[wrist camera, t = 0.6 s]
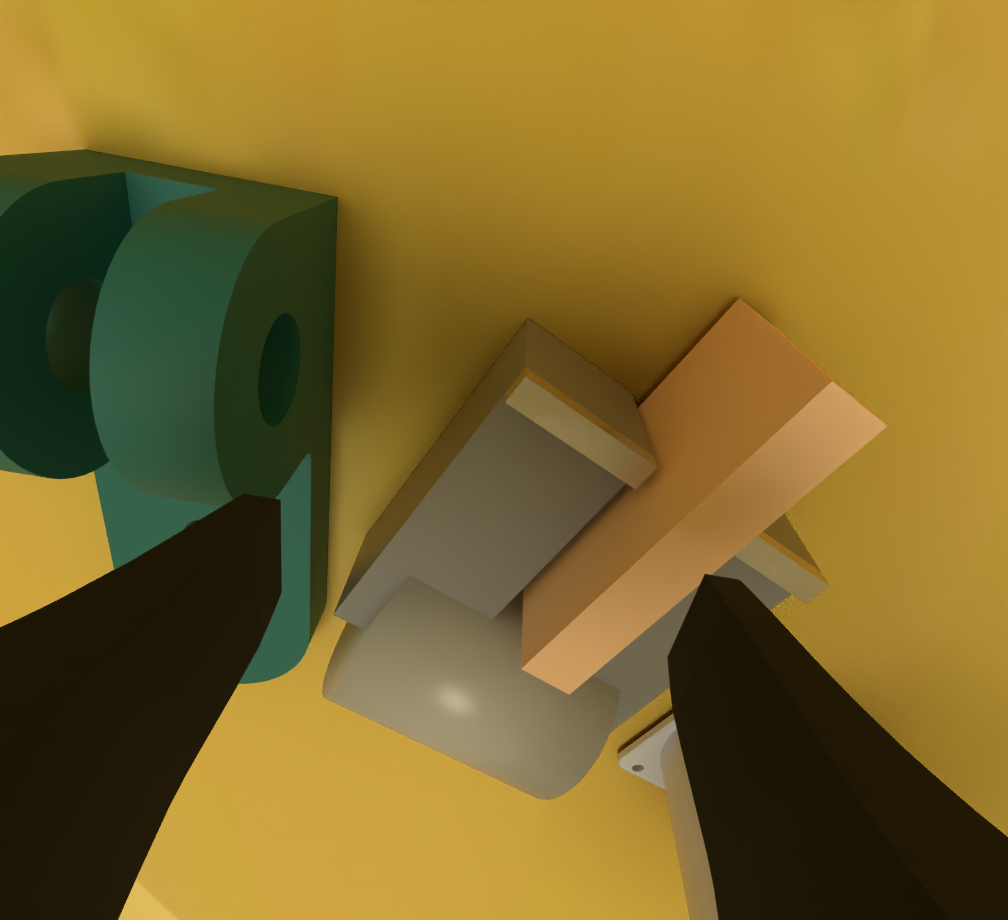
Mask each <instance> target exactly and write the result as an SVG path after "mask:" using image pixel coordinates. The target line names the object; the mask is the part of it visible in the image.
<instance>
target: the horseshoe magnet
mask: <svg viewBox="0 0 1008 920" xmlns="http://www.w3.org/2000/svg"><path fill="white" fill-rule="evenodd" d="M657 468H658V467H657V464H656V462H655V459H654V456H653V453H652V450H651V447H650V444H649V441H648V438H647V435H646V433H645V430H644V427H643V424H642V421H641V418H640V415H639V412H638V409H637V406H636V403H635V401H634V398H633V395H632V392H630V391H629V390H628V389H626V388H625V387H623V386H622V385H621V384H619V383H618V382H616V381H615V380H614V379H612V378H611V377H610V376H608V375H607V374H605V373H604V372H603V371H601V370H600V369H598V368H597V367H596V366H594V365H593V364H591V363H590V362H589V361H587V360H586V359H585V358H583V357H582V356H580V355H579V354H578V353H576V352H575V351H573V350H572V349H571V348H569V347H568V346H567V345H565V344H564V343H562V342H561V341H560V340H558V339H557V338H555V337H554V336H553V335H551V334H550V333H548V332H547V331H546V330H544V329H543V328H542V327H540V326H539V325H537V324H536V323H535V322H533V321H532V320H530V319H529V318H528V319H527V320H526V321H525V323H524V324H523V325H522V327H521V328H520V329H519V331H518V332H517V333H516V335H515V336H514V337H513V339H512V340H511V341H510V343H509V344H508V345H507V347H506V348H505V349H504V351H503V352H502V353H501V355H500V356H499V357H498V359H497V360H496V361H495V363H494V364H493V366H492V367H491V368H490V370H489V371H488V372H487V374H486V375H485V376H484V378H483V379H482V380H481V382H480V383H479V384H478V386H477V387H476V388H475V390H474V391H473V392H472V394H471V395H470V396H469V398H468V399H467V400H466V402H465V403H464V404H463V406H462V407H461V408H460V410H459V411H458V412H457V414H456V415H455V417H454V418H453V419H452V421H451V422H450V423H449V425H448V426H447V427H446V429H445V430H444V431H443V433H442V434H441V435H440V437H439V438H438V439H437V441H436V442H435V443H434V445H433V446H432V447H431V449H430V450H429V451H428V453H427V454H426V455H425V457H424V458H423V459H422V461H421V462H420V463H419V465H418V466H417V468H416V469H415V470H414V472H413V473H412V474H411V476H410V477H409V478H408V480H407V481H406V482H405V484H404V485H403V486H402V488H401V489H400V490H399V492H398V493H397V494H396V496H395V497H394V498H393V500H392V501H391V502H390V504H389V505H388V506H387V508H386V509H385V510H384V512H383V513H382V514H381V516H380V517H379V519H378V520H377V521H376V523H375V524H374V525H373V527H372V528H371V529H370V531H369V532H368V533H367V535H366V536H365V539H364V541H363V543H362V546H361V548H360V551H359V553H358V556H357V558H356V561H355V563H354V565H353V568H352V570H351V573H350V575H349V578H348V580H347V583H346V585H345V587H344V590H343V592H342V595H341V597H340V600H339V602H338V604H337V607H336V609H335V612H334V614H333V615H335V616H337V617H339V618H341V619H343V620H345V621H347V623H346V625H345V627H344V629H343V631H342V634H341V636H340V638H339V640H338V642H337V645H336V647H335V649H334V652H333V654H332V657H331V659H330V662H329V665H328V668H327V671H326V674H325V678H324V682H323V690H322V693H323V697H324V698H325V699H327V700H330V701H332V702H334V703H336V704H338V705H340V706H342V707H344V708H347V709H349V710H351V711H353V712H355V713H357V714H359V715H361V716H364V717H366V718H368V719H370V720H372V721H374V722H376V723H378V724H381V725H383V726H385V727H387V728H389V729H391V730H393V731H395V732H397V733H400V734H402V735H404V736H406V737H408V738H410V739H412V740H414V741H417V742H419V743H421V744H423V745H425V746H427V747H429V748H431V749H434V750H436V751H438V752H440V753H442V754H444V755H446V756H448V757H451V758H453V759H455V760H457V761H459V762H461V763H463V764H465V765H468V766H470V767H472V768H474V769H476V770H478V771H480V772H482V773H485V774H487V775H489V776H491V777H493V778H495V779H497V780H499V781H502V782H504V783H506V784H508V785H510V786H512V787H514V788H516V789H519V790H521V791H523V792H525V793H527V794H529V795H531V796H533V797H536V798H539V799H545V800H548V799H553V798H556V797H559V796H561V795H563V794H565V793H566V792H568V791H569V790H571V789H572V788H573V787H574V786H575V785H577V784H578V783H579V781H580V780H581V779H582V778H583V777H584V776H585V775H586V774H587V772H588V771H589V770H590V768H591V767H592V766H593V764H594V763H595V761H596V759H597V758H598V756H599V755H600V753H601V751H602V749H603V747H604V745H605V743H606V741H607V738H608V736H609V734H610V732H611V731H613V730H614V729H615V728H617V727H618V726H619V725H621V724H622V723H623V722H625V721H626V720H627V719H628V718H630V717H631V716H632V715H634V714H635V713H636V712H638V711H639V710H640V709H642V708H643V707H644V706H645V705H647V704H648V703H649V702H651V701H652V700H653V699H655V698H656V697H657V696H659V695H660V694H661V693H662V692H664V691H665V690H666V689H668V688H669V687H670V682H669V671H668V660H667V657H668V654H669V652H670V650H671V648H672V645H673V643H674V641H675V639H676V637H677V634H678V632H679V630H680V628H681V625H682V623H683V621H684V619H685V617H686V614H687V612H688V610H689V608H690V605H691V603H692V601H693V599H694V597H695V594H696V592H697V590H698V588H699V586H698V587H696V588H695V589H694V590H693V591H692V592H690V593H689V594H688V595H687V596H686V597H685V598H683V599H682V600H681V601H680V602H679V603H677V604H676V605H675V606H674V607H673V608H671V609H670V610H669V611H668V612H667V613H666V614H664V615H663V616H662V617H661V618H660V619H658V620H657V621H656V622H655V623H654V624H653V625H651V626H650V627H649V628H648V629H647V630H645V631H644V632H643V633H642V634H641V635H640V636H638V637H637V638H636V639H635V640H634V641H632V642H631V643H630V644H629V645H628V646H626V647H625V648H624V649H623V650H622V651H621V652H619V653H618V654H617V655H616V656H615V657H613V658H612V659H611V660H610V661H609V662H608V663H606V664H605V665H604V666H603V667H602V668H600V669H599V670H598V671H597V672H596V673H595V674H593V675H592V676H591V677H590V678H589V679H587V680H586V681H585V682H584V683H583V684H581V685H580V686H579V687H578V688H577V689H576V690H574V691H573V692H572V693H571V694H570V695H569V694H567V693H565V692H563V691H561V690H559V689H558V688H556V687H554V686H552V685H550V684H548V683H546V682H544V681H543V680H541V679H539V678H537V677H535V676H533V675H531V674H530V673H528V672H526V671H524V670H522V669H521V652H522V617H523V588H524V587H525V586H526V585H527V584H528V583H529V582H530V581H531V580H532V579H533V578H534V577H535V576H536V575H537V574H538V573H539V572H540V571H541V570H542V569H543V568H544V567H545V566H546V565H547V564H548V563H549V562H550V561H551V560H552V559H553V558H554V557H555V555H556V554H557V553H558V552H559V551H560V550H561V549H562V548H563V547H564V546H565V545H566V544H567V543H568V542H569V541H570V540H571V539H572V538H573V537H574V536H575V535H576V534H577V533H578V532H579V531H580V530H581V529H582V528H583V527H584V526H585V525H586V524H587V523H588V522H589V521H590V520H591V519H592V518H593V517H594V516H595V515H596V514H597V513H598V512H599V511H600V510H601V509H602V508H603V506H604V505H605V504H606V503H607V502H608V501H609V500H610V499H611V498H612V497H613V496H614V495H615V494H616V493H617V492H618V491H619V490H620V489H621V488H622V487H623V486H624V485H625V484H628V485H629V486H631V487H632V488H634V489H635V490H636V489H637V488H638V487H639V486H640V485H641V484H642V483H643V482H644V481H645V480H646V479H647V478H648V477H649V476H650V475H651V474H652V473H653V472H654V471H655V470H656V469H657ZM712 575H715V576H721V577H727V578H733V579H738V580H740V581H742V582H743V583H744V584H745V585H746V586H747V587H748V588H749V589H750V590H751V591H752V592H753V593H754V594H755V595H756V596H757V597H758V599H759V600H760V601H761V602H762V603H763V604H764V605H765V606H766V607H767V608H768V609H769V610H771V609H772V608H774V607H775V606H776V605H778V604H779V603H780V602H781V601H783V600H784V599H785V598H787V597H788V596H789V595H791V594H793V595H794V596H795V597H797V598H798V599H800V600H801V601H803V602H804V603H808V602H809V601H810V600H812V599H813V598H815V597H816V596H817V595H819V594H820V593H821V592H823V591H824V590H825V589H827V588H828V587H829V584H828V583H827V581H826V579H825V578H824V576H823V575H822V573H821V571H820V570H819V568H818V567H817V565H816V563H815V562H814V560H813V559H812V557H811V555H810V554H809V552H808V551H807V549H806V547H805V546H804V544H803V543H802V541H801V539H800V538H799V536H798V535H797V533H796V531H795V530H794V528H793V527H792V525H791V523H790V522H789V520H788V519H787V517H786V515H785V514H783V515H782V516H780V517H779V518H778V519H777V520H776V521H775V522H773V523H772V524H771V525H770V526H769V527H767V528H766V529H765V530H764V531H763V532H762V533H760V534H759V535H758V536H757V537H756V538H754V539H753V540H752V541H751V542H750V543H748V544H747V545H746V546H745V547H744V548H743V549H741V550H740V551H739V552H738V553H737V554H735V555H734V556H733V557H732V558H731V559H730V560H728V561H727V562H726V563H725V564H724V565H722V566H721V567H720V568H719V569H718V570H717V571H715V572H714V573H713V574H712Z"/></svg>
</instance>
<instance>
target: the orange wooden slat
mask: <svg viewBox="0 0 1008 920" xmlns="http://www.w3.org/2000/svg"><path fill="white" fill-rule="evenodd" d="M638 412H639V415H640V418H641V421H642V424H643V427H644V430H645V433H646V435H647V438H648V441H649V444H650V447H651V450H652V453H653V456H654V459H655V462H656V464H657V467H658V468H657V469H656V470H655V471H654V472H653V473H652V474H651V475H650V476H649V477H648V478H647V479H646V480H645V481H644V482H643V483H642V484H641V485H640V486H639V487H638V488H637V489H636V490H635V489H634V488H632V487H631V486H629V485H628V484H625V485H624V486H623V487H622V488H621V489H620V490H619V491H618V492H617V493H616V494H615V495H614V496H613V497H612V498H611V499H610V500H609V501H608V502H607V503H606V504H605V505H604V506H603V508H602V509H601V510H600V511H599V512H598V513H597V514H596V515H595V516H594V517H593V518H592V519H591V520H590V521H589V522H588V523H587V524H586V525H585V526H584V527H583V528H582V529H581V530H580V531H579V532H578V533H577V534H576V535H575V536H574V537H573V538H572V539H571V540H570V541H569V542H568V543H567V544H566V545H565V546H564V547H563V548H562V549H561V550H560V551H559V552H558V553H557V554H556V555H555V557H554V558H553V559H552V560H551V561H550V562H549V563H548V564H547V565H546V566H545V567H544V568H543V569H542V570H541V571H540V572H539V573H538V574H537V575H536V576H535V577H534V578H533V579H532V580H531V581H530V582H529V583H528V584H527V585H526V586H525V587H524V588H523V617H522V652H521V669H522V670H524V671H526V672H528V673H530V674H531V675H533V676H535V677H537V678H539V679H541V680H543V681H544V682H546V683H548V684H550V685H552V686H554V687H556V688H558V689H559V690H561V691H563V692H565V693H567V694H569V695H570V694H571V693H572V692H573V691H574V690H576V689H577V688H578V687H579V686H580V685H581V684H583V683H584V682H585V681H586V680H587V679H589V678H590V677H591V676H592V675H593V674H595V673H596V672H597V671H598V670H599V669H600V668H602V667H603V666H604V665H605V664H606V663H608V662H609V661H610V660H611V659H612V658H613V657H615V656H616V655H617V654H618V653H619V652H621V651H622V650H623V649H624V648H625V647H626V646H628V645H629V644H630V643H631V642H632V641H634V640H635V639H636V638H637V637H638V636H640V635H641V634H642V633H643V632H644V631H645V630H647V629H648V628H649V627H650V626H651V625H653V624H654V623H655V622H656V621H657V620H658V619H660V618H661V617H662V616H663V615H664V614H666V613H667V612H668V611H669V610H670V609H671V608H673V607H674V606H675V605H676V604H677V603H679V602H680V601H681V600H682V599H683V598H685V597H686V596H687V595H688V594H689V593H690V592H692V591H693V590H694V589H695V588H696V587H698V586H699V585H700V583H701V581H702V579H703V576H704V574H710V575H712V574H713V573H714V572H715V571H717V570H718V569H719V568H720V567H721V566H722V565H724V564H725V563H726V562H727V561H728V560H730V559H731V558H732V557H733V556H734V555H735V554H737V553H738V552H739V551H740V550H741V549H743V548H744V547H745V546H746V545H747V544H748V543H750V542H751V541H752V540H753V539H754V538H756V537H757V536H758V535H759V534H760V533H762V532H763V531H764V530H765V529H766V528H767V527H769V526H770V525H771V524H772V523H773V522H775V521H776V520H777V519H778V518H779V517H780V516H782V515H783V514H784V513H785V512H786V511H788V510H789V509H790V508H791V507H792V506H794V505H795V504H796V503H797V502H798V501H799V500H801V499H802V498H803V497H804V496H805V495H807V494H808V493H809V492H810V491H811V490H812V489H814V488H815V487H816V486H817V485H818V484H820V483H821V482H822V481H823V480H824V479H825V478H827V477H828V476H829V475H830V474H831V473H833V472H834V471H835V470H836V469H837V468H839V467H840V466H841V465H842V464H843V463H844V462H846V461H847V460H848V459H849V458H850V457H852V456H853V455H854V454H855V453H856V452H857V451H859V450H860V449H861V448H862V447H863V446H865V445H866V444H867V443H868V442H869V441H871V440H872V439H873V438H874V437H875V436H876V435H878V434H879V433H880V432H881V431H882V430H884V429H885V428H886V427H887V425H886V424H885V423H883V422H882V421H881V420H880V419H879V418H878V417H877V416H875V415H874V414H873V413H872V412H871V411H870V410H869V409H867V408H866V407H865V406H864V405H863V404H862V403H861V402H860V401H858V400H857V399H856V398H855V397H854V396H853V395H852V394H850V393H849V392H848V391H847V390H846V389H845V388H844V387H843V386H841V385H840V384H839V383H838V382H837V381H836V380H835V379H833V378H832V377H831V376H830V375H829V374H828V373H827V372H825V371H824V370H823V369H822V368H821V367H820V366H819V365H818V364H816V363H815V362H814V361H813V360H812V359H811V358H810V357H808V356H807V355H806V354H805V353H804V352H803V351H802V350H800V349H799V348H798V347H797V346H796V345H795V344H794V343H793V342H791V341H790V340H789V339H788V338H787V337H786V336H785V335H783V334H782V333H781V332H780V331H779V330H778V329H776V328H775V327H774V326H773V325H772V324H770V323H769V322H768V321H767V320H765V319H764V318H763V317H762V316H761V315H759V314H758V313H757V312H756V311H755V310H753V309H752V308H751V307H750V306H748V305H747V304H746V303H745V302H744V301H742V300H741V299H740V298H739V299H738V300H737V301H736V302H735V303H734V304H733V305H732V306H731V308H730V309H729V310H728V311H727V312H726V313H725V314H724V315H723V316H722V317H721V318H720V320H719V321H718V322H717V323H716V324H715V325H714V326H713V327H712V328H711V329H710V330H709V331H708V333H707V334H706V335H705V336H704V337H703V338H702V339H701V340H700V341H699V342H698V343H697V345H696V346H695V347H694V348H693V349H692V350H691V351H690V352H689V353H688V354H687V355H686V357H685V358H684V359H683V360H682V361H681V362H680V363H679V364H678V365H677V366H676V367H675V368H674V370H673V371H672V372H671V373H670V374H669V375H668V376H667V377H666V378H665V379H664V380H663V382H662V383H661V384H660V385H659V386H658V387H657V388H656V389H655V390H654V391H653V392H652V394H651V395H650V396H649V397H648V398H647V399H646V400H645V401H644V402H643V403H642V404H641V405H640V407H639V408H638Z"/></svg>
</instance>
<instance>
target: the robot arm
mask: <svg viewBox="0 0 1008 920" xmlns="http://www.w3.org/2000/svg"><path fill="white" fill-rule="evenodd" d="M281 593H282V568H281V500H279V499H273V498H267V497H262V496H256V495H250V494H242V495H240V496H238V497H237V498H235V499H233V500H231V501H230V502H228V503H226V504H225V505H223V506H221V507H220V508H218V509H216V510H215V511H213V512H212V513H210V514H208V515H207V516H205V517H203V518H202V519H200V520H199V521H197V522H195V523H194V524H192V525H190V526H189V527H187V528H185V529H184V530H182V531H181V532H179V533H177V534H175V535H174V536H172V537H170V538H169V539H167V540H165V541H164V542H162V543H160V544H159V545H157V546H155V547H153V548H152V549H150V550H148V551H147V552H145V553H143V554H142V555H140V556H138V557H137V558H135V559H133V560H131V561H130V562H128V563H126V564H124V565H122V566H120V567H118V568H117V569H115V570H113V571H111V572H109V573H107V574H105V575H104V576H102V577H100V578H98V579H96V580H94V581H92V582H91V583H89V584H87V585H85V586H83V587H81V588H79V589H77V590H76V591H74V592H72V593H70V594H68V595H66V596H64V597H63V598H61V599H59V600H57V601H55V602H53V603H51V604H49V605H47V606H45V607H43V608H41V609H39V610H36V611H34V612H32V613H30V614H28V615H26V616H24V617H22V618H20V619H18V620H15V621H13V622H11V623H9V624H7V625H4V626H2V627H0V920H118V919H119V916H120V914H121V912H122V910H123V907H124V905H125V903H126V900H127V898H128V896H129V894H130V891H131V889H132V887H133V884H134V882H135V880H136V878H137V875H138V873H139V871H140V869H141V867H142V865H143V862H144V860H145V858H146V856H147V854H148V852H149V849H150V847H151V845H152V843H153V841H154V839H155V836H156V834H157V832H158V830H159V828H160V826H161V823H162V821H163V819H164V817H165V815H166V813H167V810H168V808H169V806H170V804H171V802H172V800H173V798H174V796H175V795H176V793H177V791H178V789H179V787H180V785H181V783H182V781H183V779H184V777H185V776H186V774H187V772H188V770H189V768H190V767H191V765H192V763H193V762H194V760H195V758H196V756H197V755H198V753H199V751H200V749H201V748H202V746H203V744H204V742H205V741H206V739H207V737H208V736H209V734H210V732H211V730H212V729H213V727H214V725H215V723H216V722H217V720H218V718H219V717H220V715H221V713H222V711H223V710H224V708H225V706H226V704H227V703H228V701H229V699H230V697H231V696H232V694H233V692H234V691H235V689H236V687H237V685H238V683H239V682H240V680H241V678H242V676H243V675H244V673H245V671H246V669H247V668H248V666H249V664H250V662H251V661H252V659H253V657H254V655H255V653H256V652H257V650H258V648H259V646H260V644H261V641H262V639H263V637H264V634H265V632H266V630H267V628H268V625H269V623H270V620H271V618H272V616H273V613H274V611H275V608H276V606H277V603H278V601H279V598H280V596H281ZM667 660H668V671H669V682H670V691H671V699H672V708H673V714H671V715H670V716H669V717H667V718H666V719H664V720H663V721H662V722H660V723H659V724H658V725H656V726H655V727H654V728H652V729H651V730H649V731H648V732H647V733H645V734H644V735H643V736H641V737H640V738H639V739H637V740H636V741H635V742H633V743H632V744H630V745H629V746H628V747H626V748H625V749H624V750H622V751H621V752H620V753H619V754H618V756H617V760H618V765H619V766H620V767H621V768H622V769H624V770H626V771H628V772H630V773H632V774H634V775H636V776H638V777H640V778H642V779H644V780H646V781H648V782H650V783H652V784H654V785H656V786H658V787H660V788H662V789H664V790H666V796H667V801H668V806H669V811H670V817H671V822H672V827H673V832H674V838H675V843H676V848H677V853H678V859H679V864H680V869H681V874H682V879H683V885H684V890H685V895H686V900H687V906H688V911H689V916H690V920H1008V837H1007V836H1006V835H1004V834H1003V833H1002V832H1001V831H1000V830H998V829H997V828H996V827H995V826H993V825H992V824H991V823H990V822H988V821H987V820H986V819H985V818H984V817H982V816H981V815H980V814H979V813H977V812H976V811H975V810H974V809H973V808H972V807H970V806H969V805H968V804H967V803H966V802H965V801H963V800H962V799H961V798H960V797H959V796H958V795H956V794H955V793H954V792H953V791H952V790H951V789H950V788H948V787H947V786H946V785H945V784H944V783H943V782H941V781H940V780H939V779H938V778H937V777H936V776H935V775H933V774H932V773H931V772H930V771H929V770H928V769H926V768H925V767H924V766H923V765H922V764H921V763H920V762H919V761H918V760H916V759H915V758H914V757H913V756H912V755H911V754H910V753H909V752H908V751H907V750H905V749H904V748H903V747H902V746H901V745H900V744H899V743H898V742H897V741H896V740H895V739H894V738H893V737H892V736H891V735H890V734H889V733H888V732H887V731H886V730H885V729H883V728H882V727H881V726H880V725H879V724H878V723H877V722H876V721H875V720H874V719H873V718H872V717H871V716H870V715H869V714H868V713H867V712H866V711H865V710H864V709H863V708H862V707H861V706H860V705H859V704H858V703H857V702H856V701H855V700H854V699H853V698H852V697H851V696H850V695H849V694H848V693H847V692H846V691H845V690H844V689H843V688H842V687H841V686H840V685H839V684H838V683H837V682H836V681H835V680H834V679H833V678H832V677H831V676H830V675H829V674H828V672H827V671H826V670H825V669H824V668H823V667H822V666H821V665H820V664H819V663H818V662H817V661H816V660H815V659H814V658H813V657H812V656H811V654H810V653H809V652H808V651H807V650H806V649H805V648H804V647H803V646H802V645H801V644H800V643H799V642H798V641H797V639H796V638H795V637H794V636H793V635H792V634H791V633H790V632H789V631H788V630H787V629H786V628H785V626H784V625H783V624H782V623H781V622H780V621H779V620H778V619H777V618H776V617H775V616H774V615H773V613H772V612H771V611H770V610H769V609H768V608H767V607H766V606H765V605H764V604H763V603H762V602H761V601H760V600H759V599H758V597H757V596H756V595H755V594H754V593H753V592H752V591H751V590H750V589H749V588H748V587H747V586H746V585H745V584H744V583H743V582H742V581H740V580H738V579H733V578H727V577H721V576H715V575H710V574H704V576H703V579H702V581H701V583H700V585H699V588H698V590H697V592H696V594H695V597H694V599H693V601H692V603H691V605H690V608H689V610H688V612H687V614H686V617H685V619H684V621H683V623H682V625H681V628H680V630H679V632H678V634H677V637H676V639H675V641H674V643H673V645H672V648H671V650H670V652H669V654H668V657H667Z"/></svg>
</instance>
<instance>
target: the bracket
mask: <svg viewBox="0 0 1008 920" xmlns="http://www.w3.org/2000/svg"><path fill="white" fill-rule="evenodd" d="M337 200H338V197H334V196H329V195H324V194H319V193H313V192H308V191H303V190H297V189H292V188H287V187H281V186H276V185H271V184H265V183H260V182H255V181H249V180H244V179H239V178H233V177H228V176H223V175H217V174H212V173H207V172H202V171H196V170H191V169H186V168H180V167H175V166H170V165H164V164H159V163H154V162H148V161H143V160H138V159H132V158H127V157H122V156H116V155H111V154H106V153H101V152H95V151H90V150H73V151H59V152H46V153H32V154H18V155H4V156H0V470H3V471H9V472H15V473H21V474H27V475H34V476H40V477H46V478H53V479H67V478H75V477H79V476H82V475H85V474H88V473H90V472H93V471H94V473H95V478H96V483H97V488H98V493H99V498H100V503H101V507H102V512H103V517H104V522H105V527H106V532H107V537H108V541H109V546H110V551H111V556H112V561H113V566H114V570H115V569H117V568H118V567H120V566H122V565H124V564H126V563H128V562H130V561H131V560H133V559H135V558H137V557H138V556H140V555H142V554H143V553H145V552H147V551H148V550H150V549H152V548H153V547H155V546H157V545H159V544H160V543H162V542H164V541H165V540H167V539H169V538H170V537H172V536H174V535H175V534H177V533H179V532H181V531H182V530H184V529H185V528H187V527H189V526H190V525H192V524H194V523H195V522H197V521H199V520H200V519H202V518H203V517H205V516H207V515H208V514H210V513H212V512H213V511H215V510H216V509H218V508H220V507H221V506H223V505H225V504H226V503H228V502H230V501H231V500H233V499H235V498H237V497H238V496H240V495H242V494H250V495H256V496H262V497H267V498H273V499H279V500H281V568H282V593H281V596H280V598H279V601H278V603H277V606H276V608H275V611H274V613H273V616H272V618H271V620H270V623H269V625H268V628H267V630H266V632H265V634H264V637H263V639H262V641H261V644H260V646H259V648H258V650H257V652H256V653H255V655H254V657H253V659H252V661H251V662H250V664H249V666H248V668H247V669H246V671H245V673H244V675H243V676H242V678H241V680H240V682H239V683H238V684H246V683H257V682H263V681H267V680H271V679H274V678H277V677H279V676H281V675H283V674H285V673H287V672H288V671H290V670H291V669H292V668H294V667H295V666H296V665H297V664H298V663H299V662H300V660H301V659H302V658H303V656H304V654H305V652H306V650H307V648H308V645H309V643H310V641H311V638H312V636H313V634H314V631H315V629H316V627H317V625H318V622H319V620H320V618H321V615H322V613H323V611H324V608H325V604H326V598H327V567H328V530H329V493H330V457H331V420H332V383H333V347H334V310H335V273H336V237H337Z"/></svg>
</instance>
